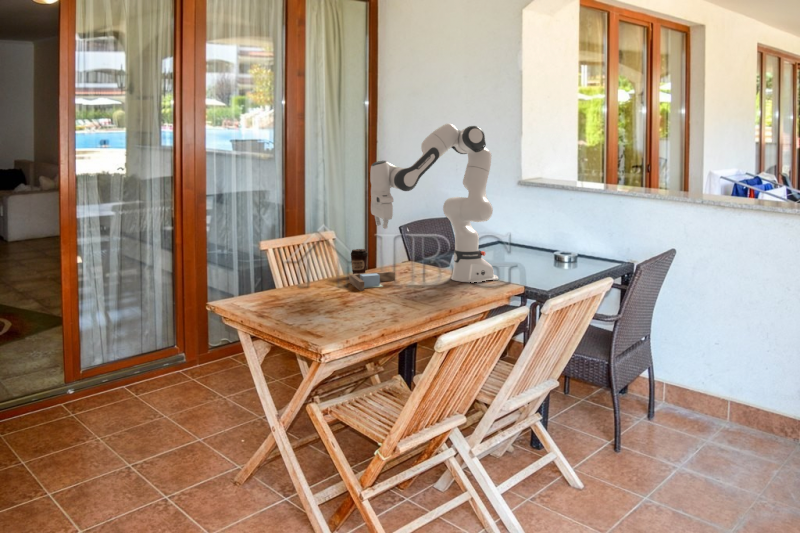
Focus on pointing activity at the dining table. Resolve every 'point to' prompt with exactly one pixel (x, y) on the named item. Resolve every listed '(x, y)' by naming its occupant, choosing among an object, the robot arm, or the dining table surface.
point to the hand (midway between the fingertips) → (381, 226)
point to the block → (370, 279)
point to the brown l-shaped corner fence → (384, 276)
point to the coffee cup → (359, 260)
